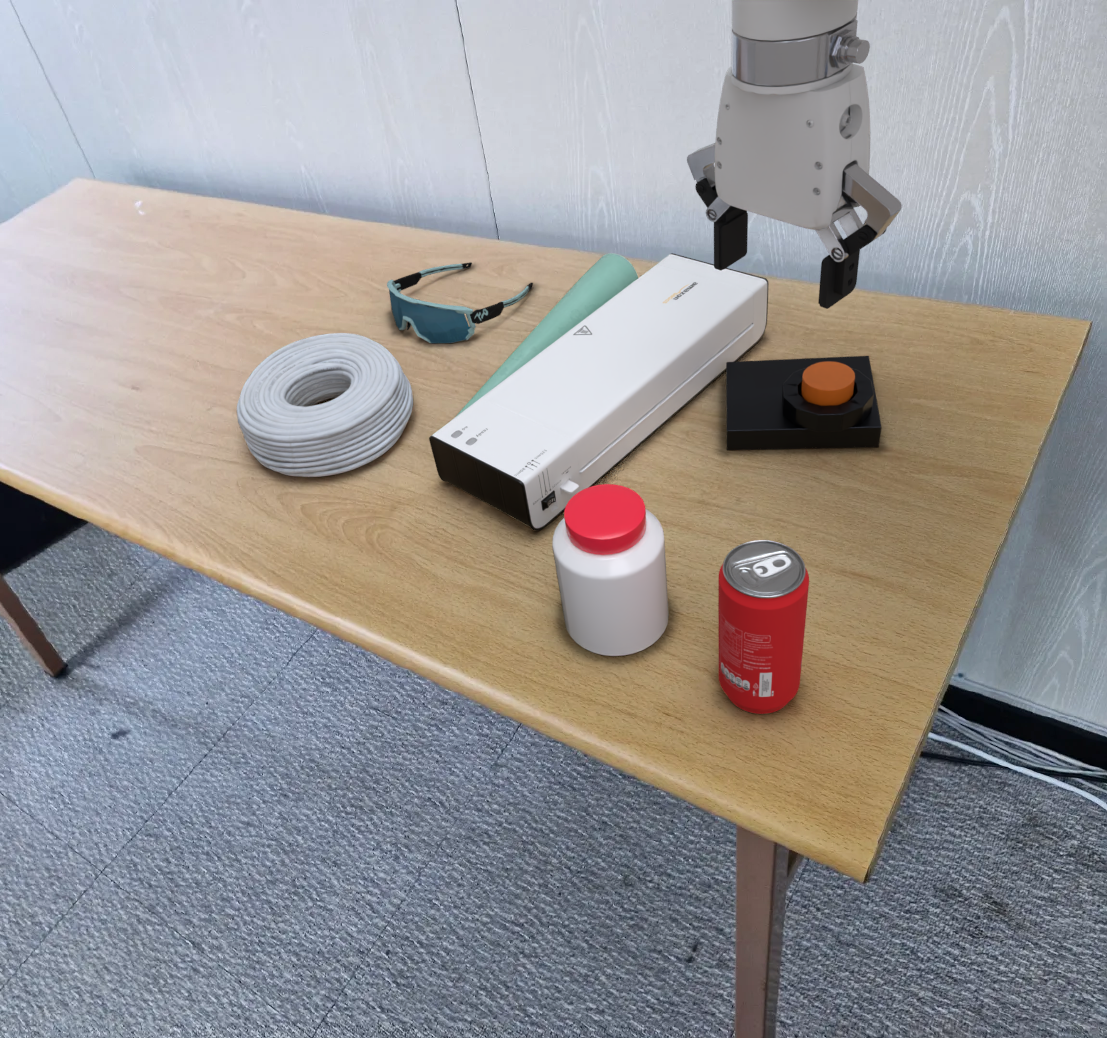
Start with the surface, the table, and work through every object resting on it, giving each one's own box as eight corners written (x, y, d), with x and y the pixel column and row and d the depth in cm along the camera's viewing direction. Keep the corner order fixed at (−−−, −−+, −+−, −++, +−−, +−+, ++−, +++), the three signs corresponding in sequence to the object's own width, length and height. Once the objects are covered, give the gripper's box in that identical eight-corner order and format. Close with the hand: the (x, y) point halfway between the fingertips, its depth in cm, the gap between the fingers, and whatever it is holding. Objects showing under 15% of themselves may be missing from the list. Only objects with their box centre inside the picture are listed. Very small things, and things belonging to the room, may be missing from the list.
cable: (309, 366, 108) (293, 319, 104) (447, 385, 100) (435, 336, 96) (217, 467, 98) (196, 420, 94) (362, 498, 90) (345, 447, 86)
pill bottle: (689, 628, 71) (685, 520, 64) (596, 672, 70) (581, 568, 63) (634, 564, 77) (624, 458, 70) (546, 604, 76) (528, 500, 69)
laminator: (671, 305, 102) (669, 252, 98) (777, 338, 94) (779, 281, 90) (441, 488, 89) (427, 435, 84) (542, 544, 81) (532, 489, 77)
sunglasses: (368, 322, 112) (361, 282, 109) (461, 276, 119) (457, 237, 116) (452, 358, 103) (447, 315, 100) (547, 306, 110) (546, 264, 107)
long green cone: (419, 383, 92) (595, 248, 103) (431, 428, 95) (599, 293, 106) (461, 400, 88) (638, 258, 99) (471, 447, 92) (641, 305, 103)
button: (850, 377, 82) (852, 359, 81) (855, 406, 80) (857, 389, 78) (800, 379, 83) (801, 362, 82) (802, 407, 81) (803, 391, 80)
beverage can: (704, 674, 68) (702, 555, 60) (771, 647, 69) (778, 526, 61) (744, 730, 64) (748, 611, 56) (815, 702, 65) (828, 580, 57)
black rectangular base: (866, 375, 88) (871, 338, 85) (879, 451, 80) (884, 412, 78) (726, 381, 91) (726, 345, 88) (726, 453, 84) (726, 417, 81)
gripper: (953, 45, 59) (915, 292, 70) (725, 14, 71) (725, 230, 82) (874, 93, 57) (848, 340, 68) (652, 52, 68) (662, 269, 80)
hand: (780, 280), depth 75 cm, fingers open, 9 cm apart
